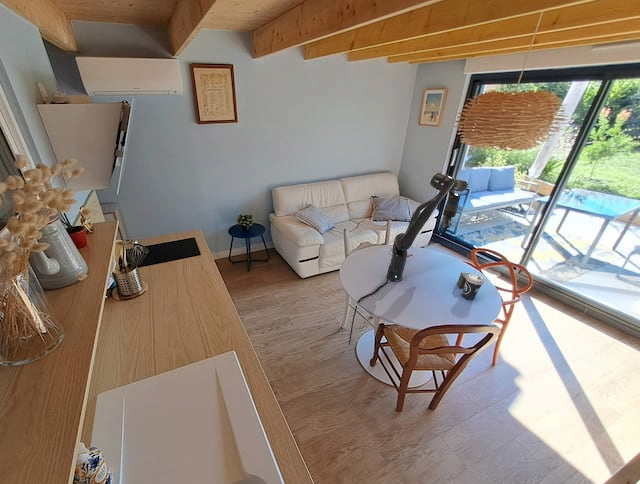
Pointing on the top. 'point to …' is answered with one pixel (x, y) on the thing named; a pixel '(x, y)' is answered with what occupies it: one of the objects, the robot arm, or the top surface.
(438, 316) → the top surface
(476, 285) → the coffee cup
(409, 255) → the magic lamp
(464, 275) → the walnut block
